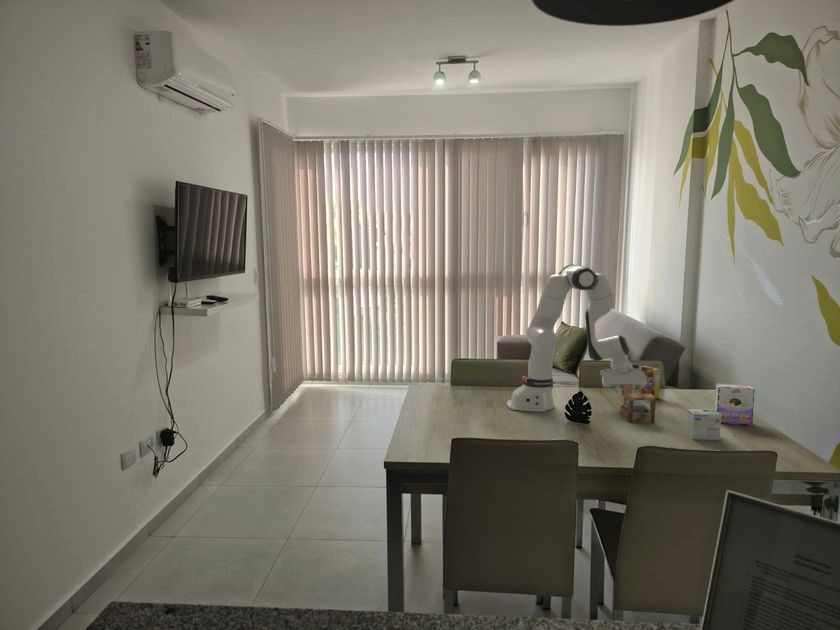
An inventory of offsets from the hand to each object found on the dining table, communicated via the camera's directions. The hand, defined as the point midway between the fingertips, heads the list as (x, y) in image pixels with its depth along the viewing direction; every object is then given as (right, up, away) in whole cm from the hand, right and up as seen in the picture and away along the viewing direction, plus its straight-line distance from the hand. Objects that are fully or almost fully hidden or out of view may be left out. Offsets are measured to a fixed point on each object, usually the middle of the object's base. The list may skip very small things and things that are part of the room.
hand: (627, 394), depth 252 cm
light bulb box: (+16, -12, -36) cm, 41 cm away
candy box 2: (+38, -9, -19) cm, 44 cm away
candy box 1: (+19, -4, +21) cm, 28 cm away
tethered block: (0, -7, -5) cm, 8 cm away
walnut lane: (-1, -9, -12) cm, 15 cm away
